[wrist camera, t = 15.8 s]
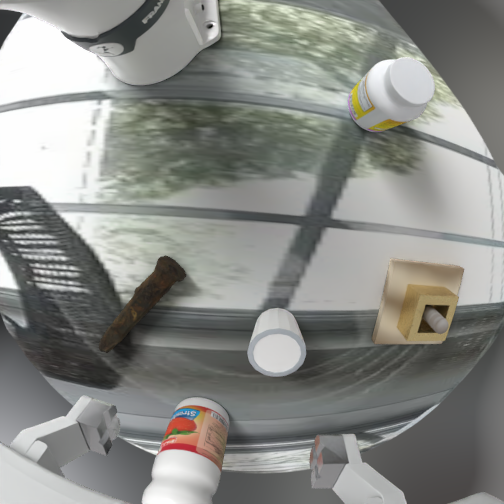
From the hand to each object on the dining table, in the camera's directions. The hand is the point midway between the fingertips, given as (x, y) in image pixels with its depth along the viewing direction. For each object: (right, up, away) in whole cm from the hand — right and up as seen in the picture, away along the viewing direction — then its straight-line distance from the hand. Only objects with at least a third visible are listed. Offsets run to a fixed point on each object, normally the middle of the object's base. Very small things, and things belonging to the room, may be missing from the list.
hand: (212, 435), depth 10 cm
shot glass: (+5, -3, +31) cm, 31 cm away
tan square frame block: (+25, -1, +27) cm, 37 cm away
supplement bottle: (+16, +25, +23) cm, 38 cm away
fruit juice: (-7, -20, +36) cm, 42 cm away
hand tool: (-14, -1, +32) cm, 35 cm away
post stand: (+25, 0, +29) cm, 38 cm away
